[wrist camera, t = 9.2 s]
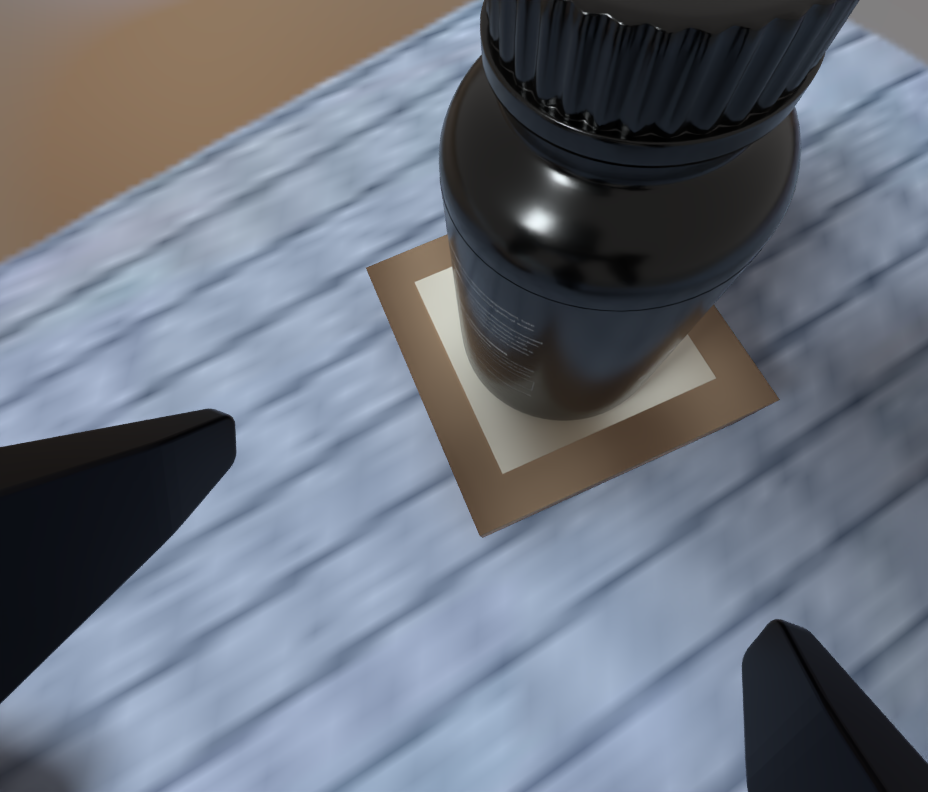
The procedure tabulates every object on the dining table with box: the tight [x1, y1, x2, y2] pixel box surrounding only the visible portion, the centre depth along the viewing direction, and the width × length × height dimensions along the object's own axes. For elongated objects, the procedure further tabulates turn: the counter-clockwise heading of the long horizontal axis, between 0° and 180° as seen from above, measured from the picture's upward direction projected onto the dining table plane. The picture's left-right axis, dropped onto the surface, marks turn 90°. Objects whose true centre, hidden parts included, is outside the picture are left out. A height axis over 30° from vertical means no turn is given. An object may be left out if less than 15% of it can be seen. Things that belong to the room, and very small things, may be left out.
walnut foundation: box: [366, 234, 780, 538], centre depth 19 cm, size 11×11×3 cm
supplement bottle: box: [439, 0, 859, 421], centre depth 11 cm, size 7×7×12 cm
